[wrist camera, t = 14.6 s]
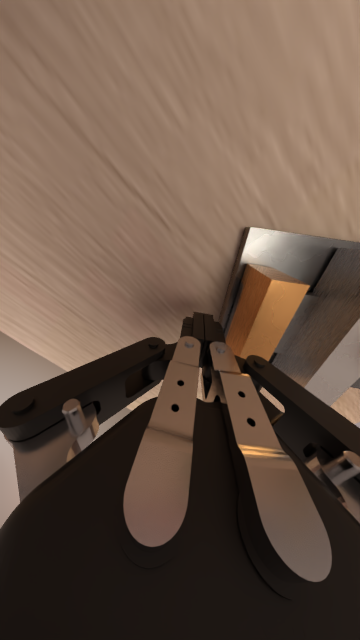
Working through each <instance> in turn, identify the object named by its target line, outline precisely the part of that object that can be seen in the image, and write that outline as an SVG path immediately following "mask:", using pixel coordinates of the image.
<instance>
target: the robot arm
mask: <svg viewBox="0 0 360 640" xmlns="http://www.w3.org/2000/svg"><path fill="white" fill-rule="evenodd" d="M199 367H201V368H202V373H201V387H202V397H203V401H202V400H200V399H198V398H197V388H198V378H199ZM161 380H163V383H162V386H161V389H160V392H159V395H158V397H155V398H152V399H150V400H147V401H145V402H144V403H142V404H140V405H139V406H138V407H137V408H135V409H134V410H133V411H131V412H130V413H129V414H128V415H127V416H125V417H124V418H123V419H122V420H120V421H119V422H118V423H116V424H115V425H114V426H113V427H111V428H110V429H109V430H107V431H106V432H105V433H104V434H103V435H101V436H100V437H99V438H97V439H96V440H95V441H94V442H92V441H93V439H94V438H95V437H96V435H97V433H98V429H99V425H100V424H101V423H103V422H105V421H106V420H107V419H109V418H110V417H111V416H113V415H115V414H116V413H117V412H119V411H120V410H122V409H123V408H125V407H126V406H127V405H129V404H130V403H132V402H133V401H135V400H136V399H137V398H139V397H140V396H142V395H143V394H145V393H146V392H147V391H149V390H150V389H152V388H153V387H155V386H156V385H157V384H159V383H160V382H161ZM262 387H263V388H265V389H266V390H267V391H268V392H269V393H270V394H271V395H273V396H274V397H275V398H276V399H277V400H278V401H279V402H280V403H281V404H282V405H283V406H284V408H285V413H283V412H281V411H280V410H279V409H278V408H276V407H275V406H274V405H273V404H272V403H271V402H270V401H269V400H268V399H267V398H266V397H264V396H263V395H262V394H261V393H260V392H259V391H260V390H261V388H262ZM0 430H1V431H2V433H3V434H4V437H5V439H6V440H7V441H8V443H9V444H10V445H11V446H12V447H13V449H14V458H15V465H16V473H17V480H18V488H19V496H20V504H19V505H18V506H17V507H16V508H15V510H14V511H13V512H12V513H11V515H10V516H9V517H8V519H7V520H6V522H5V523H4V524H3V526H2V527H1V529H0V640H360V428H358V427H357V426H356V425H354V424H353V423H351V422H350V421H349V420H347V419H346V418H345V417H343V416H342V415H341V414H339V413H338V412H336V411H335V410H334V409H332V408H331V407H330V406H328V405H327V404H325V403H324V402H323V401H321V400H320V399H319V398H317V397H316V396H315V395H313V394H312V393H310V392H309V391H308V390H306V389H305V388H304V387H302V386H301V385H300V384H298V383H297V382H295V381H294V380H293V379H291V378H290V377H289V376H287V375H286V374H285V373H283V372H282V371H280V370H279V369H278V368H276V367H275V366H274V365H272V364H271V363H269V362H268V361H267V360H265V359H264V358H262V357H260V356H257V355H249V356H248V357H247V358H246V359H244V358H241V357H239V356H236V355H234V354H233V351H232V349H231V347H230V346H228V345H227V344H226V341H225V337H224V333H223V328H222V326H221V324H220V323H219V322H215V321H214V319H213V315H209V314H203V313H197V312H194V314H193V318H191V317H186V318H185V319H183V325H182V330H181V336H180V339H179V340H178V342H176V343H174V344H165V342H164V341H163V340H162V339H160V338H157V337H150V338H146V339H144V340H142V341H139V342H137V343H135V344H132V345H130V346H128V347H125V348H123V349H121V350H118V351H116V352H113V353H111V354H109V355H106V356H104V357H102V358H99V359H97V360H95V361H92V362H90V363H88V364H85V365H83V366H80V367H78V368H76V369H73V370H71V371H69V372H66V373H64V374H62V375H59V376H57V377H55V378H52V379H50V380H48V381H45V382H43V383H40V384H38V385H36V386H33V387H31V388H29V389H27V390H24V391H22V392H19V393H17V394H16V395H14V396H12V397H11V398H9V399H8V400H7V401H5V402H4V403H3V404H2V405H1V406H0ZM91 442H92V443H91ZM90 443H91V444H90ZM89 444H90V445H89ZM88 445H89V446H88Z"/></svg>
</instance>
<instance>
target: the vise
mask: <svg viewBox="0 0 360 640" xmlns="http://www.w3.org/2000/svg"><path fill="white" fill-rule="evenodd" d="M338 248H347V249H357V250H360V243H359V242H352V241H345V240H338V239H331V238H324V237H317V236H310V235H303V234H296V233H289V232H282V231H274V230H267V229H260V228H253V227H247V228H245V231H244V235H243V238H242V241H241V245H240V248H239V252H238V255H237V259H236V262H235V266H234V269H233V273H232V276H231V280H230V283H229V287H228V290H227V293H226V297H225V300H224V304H223V307H222V311H221V314H220V318H219V321H218V322H219V323H220V324H221V326H222V328H223V333H225V330H226V327H227V324H228V321H229V318H230V315H231V312H232V309H233V305H234V302H235V299H236V296H237V293H238V290H239V287H240V284H241V281H242V278H243V275H244V272H245V269H246V265H247V264H253V265H260V266H267V267H272V268H274V269H277V270H279V271H281V272H283V273H285V274H287V275H289V276H291V277H293V278H295V279H298V280H300V281H302V282H304V283H306V284H308V285H310V287H309V289H308V291H307V292H311V293H312V292H313V291H314V289H315V287H316V285H317V284H318V282H319V280H320V278H321V277H322V275H323V273H324V271H325V270H326V268H327V266H328V265H329V263H330V261H331V259H332V258H333V256H334V254H335V252H336V251H337V249H338ZM276 355H277V353H275V352H273V354H272V356H271V357H270V359H269V361H268V362H269V363H271V364H272V362H273V360H274V358H275V357H276ZM350 387H353V388H359V389H360V378H359V379H358V380H357V381H356V382H355V383H354V384H352V385H351V386H350Z"/></svg>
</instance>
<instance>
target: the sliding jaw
mask: <svg viewBox="0 0 360 640" xmlns="http://www.w3.org/2000/svg"><path fill="white" fill-rule="evenodd" d="M309 287H310V285H308V284H306V283H304V282H302V281H300V280H298V279H295V278H293V277H291V276H289V275H287V274H285V273H283V272H281V271H279V270H277V269H274V268H272V267H267V266H260V265H253V264H247V265H246V269H245V272H244V275H243V278H242V281H241V284H240V287H239V290H238V293H237V296H236V299H235V302H234V305H233V309H232V312H231V315H230V318H229V321H228V324H227V327H226V330H225V333H224V337H225V341H226V344H227V345H228V346H230V347H231V349H232V351H233V354H234V355H236V356H239V357H241V358H244V359H246V358H247V357H248V356H249V355H257V356H260V357H262V358H264V359H265V360H267V361H269V359H270V357H271V356H272V354H273V352H275V353H277V355H276V357H275V358H274V360H273V362H272V365H274V366H275V367H276V368H278V369H279V370H280V371H282V372H283V373H285V374H286V375H287V376H289V377H290V378H291V379H293V380H294V381H295V382H297V383H298V384H300V385H301V386H302V387H304V388H305V389H306V390H308V391H309V392H310V393H312V394H313V395H315V396H316V397H317V398H319V399H320V400H321V401H323V402H324V403H325V404H327V405H328V406H331V405H332V404H333V403H334V402H335V401H336V400H337V399H338V398H339V397H340V396H341V395H342V394H343V393H344V392H345V391H346V390H347V389H348V388H349V387H350V386H351V385H352V384H354V383H355V382H356V381H357V380H358V379H359V378H360V250H357V249H347V248H338V249H337V251H336V252H335V254H334V256H333V258H332V259H331V261H330V263H329V265H328V266H327V268H326V270H325V271H324V273H323V275H322V277H321V278H320V280H319V282H318V284H317V285H316V287H315V289H314V291H313V292H312V293H311V292H307V291H308V289H309Z"/></svg>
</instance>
